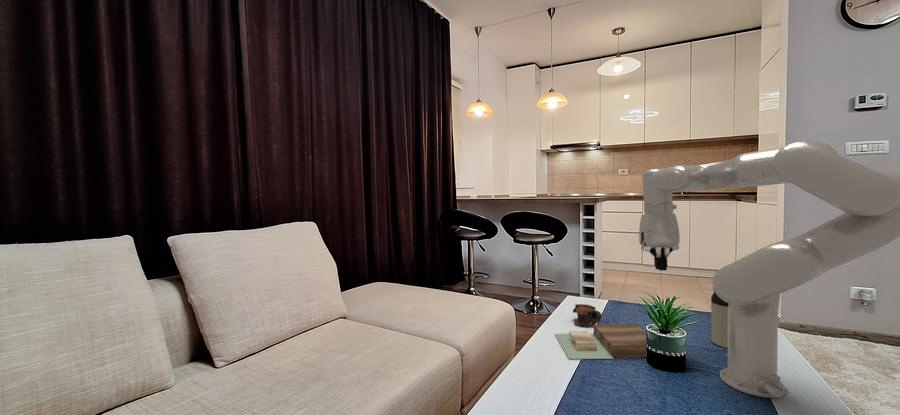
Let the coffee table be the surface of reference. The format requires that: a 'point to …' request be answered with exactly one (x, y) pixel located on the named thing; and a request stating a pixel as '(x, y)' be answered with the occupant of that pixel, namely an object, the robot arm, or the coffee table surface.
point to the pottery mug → (586, 315)
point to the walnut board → (622, 339)
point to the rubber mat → (581, 355)
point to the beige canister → (719, 321)
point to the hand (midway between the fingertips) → (661, 269)
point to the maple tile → (582, 341)
